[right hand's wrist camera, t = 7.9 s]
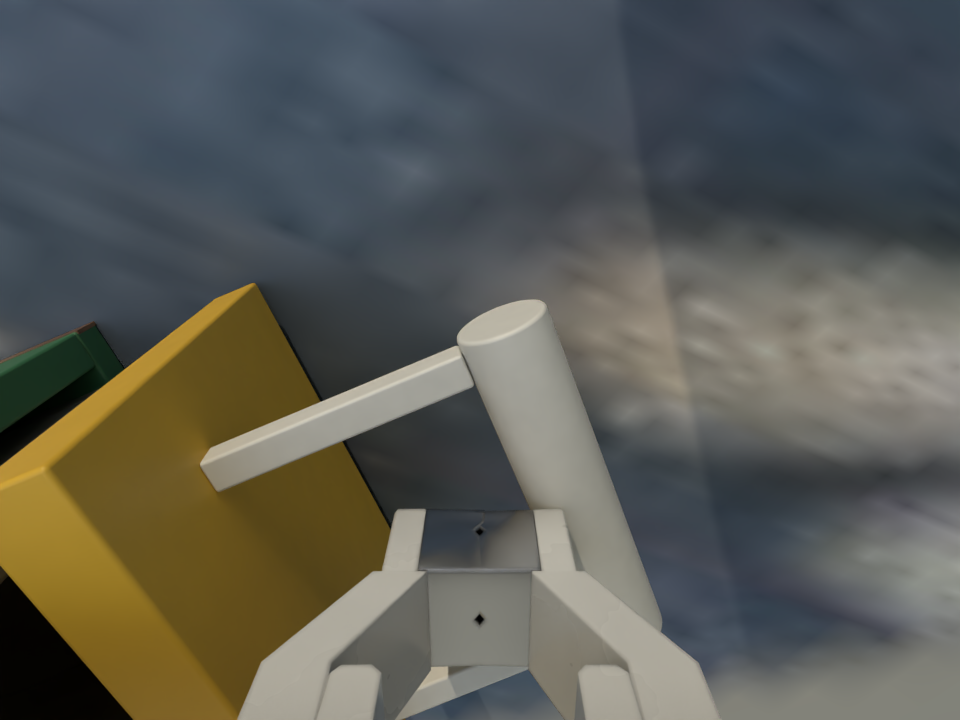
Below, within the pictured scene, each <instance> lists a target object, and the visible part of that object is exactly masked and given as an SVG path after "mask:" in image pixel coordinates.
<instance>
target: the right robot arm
mask: <svg viewBox="0 0 960 720" xmlns="http://www.w3.org/2000/svg"><path fill="white" fill-rule="evenodd" d="M447 666H512V667H528V670H529V671H530V673H531V674H532V675H533V677H534V678H535V680H536V681H537V682H538V684H539V685H540V686H541V688H542V689H543V691H544V692H545V693H546V695H547V696H548V698H549V699H550V700H551V702H552V703H553V704H554V706H555V707H556V709H557V710H558V711H559V713H560V714H561V716H562V717H563V718H564V720H722V719H721V717H720V714H719V712H718V709H717V707H716V704H715V702H714V700H713V697H712V695H711V692H710V690H709V687H708V685H707V682H706V680H705V678H704V675H703V673H702V670H701V668H700V665H699V663H698V662H697V661H696V660H694V659H693V658H692V657H691V656H689V655H688V654H687V653H686V652H685V651H683V650H682V649H681V648H680V647H678V646H677V645H676V644H675V643H674V642H672V641H671V640H670V639H669V638H667V637H666V636H665V635H664V634H662V633H661V632H660V631H659V630H658V629H656V628H655V627H654V626H653V625H651V624H650V623H649V622H648V621H647V620H645V619H644V618H643V617H642V616H640V615H639V614H638V613H637V612H636V611H634V610H633V609H632V608H631V607H629V606H628V605H627V604H626V603H625V602H623V601H622V600H621V599H620V598H618V597H617V596H616V595H615V594H614V593H612V592H611V591H610V590H609V589H607V588H606V587H605V586H604V585H603V584H601V583H600V582H599V581H598V580H596V579H595V578H594V577H593V576H591V575H590V574H589V573H588V572H586V571H577V567H576V562H575V558H574V553H573V549H572V545H571V540H570V536H569V531H568V527H567V523H566V518H565V514H564V511H563V510H562V509H561V508H558V509H533V510H499V511H485V510H455V509H427V510H426V509H398V510H397V511H396V512H395V514H394V519H393V523H392V528H391V532H390V536H389V541H388V545H387V550H386V554H385V559H384V563H383V567H382V571H373V572H371V573H370V574H369V575H368V576H366V577H365V578H364V579H363V580H362V581H360V582H359V583H358V584H357V585H355V586H354V587H353V588H352V589H350V590H349V591H348V592H347V593H345V594H344V595H343V596H342V597H341V598H339V599H338V600H337V601H336V602H334V603H333V604H332V605H331V606H329V607H328V608H327V609H326V610H325V611H323V612H322V613H321V614H320V615H318V616H317V617H316V618H315V619H313V620H312V621H311V622H310V623H309V624H307V625H306V626H305V627H304V628H302V629H301V630H300V631H299V632H297V633H296V634H295V635H294V636H292V637H291V638H290V639H289V640H288V641H286V642H285V643H284V644H283V645H281V646H280V647H279V648H278V649H276V650H275V651H274V652H273V653H272V654H270V655H269V656H268V657H267V658H265V659H264V660H263V661H262V662H261V664H260V666H259V668H258V671H257V673H256V676H255V678H254V680H253V683H252V685H251V688H250V690H249V692H248V695H247V697H246V699H245V702H244V704H243V707H242V709H241V711H240V714H239V716H238V719H237V720H395V719H396V718H397V716H398V715H399V713H400V712H401V711H402V709H403V708H404V707H405V705H406V704H407V702H408V701H409V700H410V698H411V697H412V696H413V694H414V693H415V691H416V690H417V689H418V687H419V686H420V685H421V683H422V682H423V680H424V679H425V678H426V676H427V675H428V674H429V672H430V671H431V667H447Z"/></svg>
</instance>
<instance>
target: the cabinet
mask: <svg viewBox="0 0 960 720" xmlns="http://www.w3.org/2000/svg"><path fill="white" fill-rule="evenodd" d="M95 325H96V324H95V322H94V321H93V322H91V323H88V324H86V325H83V326H81V327H79V328H76V329H74V330H72V331H69V332H67V333H65V334H62V335H60V336H58V337H55V338H53V339H51V340H48V341H46V342H43V343H41V344H39V345H36V346H34V347H32V348H29V349H27V350H25V351H22V352H20V353H18V354H15V355H13V356H11V357H8V358H6V359H3V360H1V361H0V433H1V432H2V431H3V430H5V429H6V428H8V427H9V426H12V425H14V424H16V423H19V422H21V421H24V420H26V419H28V418H31V417H33V416H35V415H38V414H40V413H43V412H45V411H47V410H50V409H52V408H54V407H57V406H59V405H61V404H64V403H66V402H69V401H71V400H73V399H76V398H78V397H80V396H83V395H85V394H88V393H90V392H92V391H95V390H97V389H99V388H102V387H103V386H104V385H105V384H107V383H108V382H109V381H110V380H112V379H113V378H114V377H116V376H117V375H118V374H119V373H121V372H122V371H123V370H124V368H123V367H122V365H121V364H120V362H119V361H118V359H117V358H116V356H115V355H114V353H113V352H112V350H111V349H110V347H109V346H108V344H107V343H106V341H105V340H104V338H103V337H102V335H101V334H100V332H99V331H98V329H97V328H96V326H95Z"/></svg>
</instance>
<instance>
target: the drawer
mask: <svg viewBox="0 0 960 720" xmlns="http://www.w3.org/2000/svg"><path fill="white" fill-rule="evenodd" d="M457 343H458V345H459V346H454V347H452V348H449V349H447V350H444V351H442V352H440V353H437V354H435V355H432V356H430V357H428V358H425V359H423V360H420V361H418V362H415V363H413V364H411V365H408V366H406V367H403V368H401V369H399V370H396V371H394V372H391V373H389V374H387V375H384V376H382V377H379V378H377V379H375V380H372V381H370V382H367V383H365V384H363V385H360V386H358V387H355V388H353V389H351V390H348V391H346V392H343V393H341V394H339V395H336V396H334V397H331V398H329V399H327V400H324V401H322V402H320V400H319V398H318V396H317V394H316V393H315V391H314V389H313V387H312V385H311V384H310V382H309V380H308V378H307V376H306V374H305V373H304V371H303V369H302V367H301V365H300V363H299V362H298V360H297V358H296V356H295V354H294V353H293V351H292V349H291V347H290V345H289V343H288V342H287V340H286V338H285V336H284V334H283V332H282V331H281V329H280V327H279V325H278V323H277V321H276V320H275V318H274V316H273V314H272V312H271V311H270V309H269V307H268V305H267V303H266V301H265V300H264V298H263V296H262V294H261V292H260V290H259V289H258V287H257V285H256V284H255V283H251V284H249V285H247V286H244V287H242V288H240V289H237V290H235V291H232V292H230V293H228V294H225V295H223V296H221V297H218V298H216V299H214V300H213V301H212V302H211V303H209V304H208V305H207V306H205V307H204V308H203V309H202V310H200V311H199V312H198V313H196V314H195V315H194V316H193V317H191V318H190V319H189V320H187V321H186V322H185V323H184V324H182V325H181V326H180V327H178V328H177V329H176V330H175V331H173V332H172V333H171V334H170V335H168V336H167V337H166V338H164V339H163V340H162V341H161V342H159V343H158V344H157V345H155V346H154V347H153V348H152V349H150V350H149V351H148V352H146V353H145V354H144V355H143V356H141V357H140V358H139V359H137V360H136V361H135V362H134V363H132V364H131V365H130V366H128V367H127V368H126V369H125V370H123V371H122V372H121V373H119V374H118V375H117V376H116V377H114V378H113V379H112V380H110V381H109V382H108V383H107V384H105V385H104V386H103V387H102V388H99V389H97V390H95V391H92V392H90V393H88V394H85V395H83V396H80V397H78V398H76V399H73V400H71V401H69V402H66V403H64V404H61V405H59V406H57V407H54V408H52V409H50V410H47V411H45V412H43V413H40V414H38V415H35V416H33V417H31V418H28V419H26V420H24V421H21V422H19V423H16V424H14V425H12V426H9V427H8V428H6V429H5V430H3V431H2V432H1V433H0V720H237V719H238V716H239V714H240V711H241V709H242V707H243V704H244V702H245V699H246V697H247V695H248V692H249V690H250V688H251V685H252V683H253V680H254V678H255V676H256V673H257V671H258V668H259V666H260V664H261V662H262V661H263V660H264V659H265V658H267V657H268V656H269V655H270V654H272V653H273V652H274V651H275V650H276V649H278V648H279V647H280V646H281V645H283V644H284V643H285V642H286V641H288V640H289V639H290V638H291V637H292V636H294V635H295V634H296V633H297V632H299V631H300V630H301V629H302V628H304V627H305V626H306V625H307V624H309V623H310V622H311V621H312V620H313V619H315V618H316V617H317V616H318V615H320V614H321V613H322V612H323V611H325V610H326V609H327V608H328V607H329V606H331V605H332V604H333V603H334V602H336V601H337V600H338V599H339V598H341V597H342V596H343V595H344V594H345V593H347V592H348V591H349V590H350V589H352V588H353V587H354V586H355V585H357V584H358V583H359V582H360V581H362V580H363V579H364V578H365V577H366V576H368V575H369V574H370V573H371V572H373V571H382V567H383V563H384V559H385V554H386V550H387V545H388V541H389V536H390V532H391V530H390V528H389V526H388V524H387V522H386V520H385V519H384V517H383V515H382V513H381V511H380V509H379V508H378V506H377V504H376V502H375V500H374V499H373V497H372V495H371V493H370V491H369V489H368V488H367V486H366V484H365V482H364V480H363V478H362V477H361V475H360V473H359V471H358V469H357V467H356V466H355V464H354V462H353V460H352V458H351V457H350V455H349V453H348V451H347V449H346V447H345V446H344V444H343V442H342V441H344V440H346V439H349V438H351V437H354V436H356V435H358V434H361V433H363V432H366V431H368V430H370V429H373V428H375V427H378V426H380V425H383V424H385V423H387V422H390V421H392V420H395V419H397V418H399V417H402V416H404V415H407V414H409V413H412V412H414V411H416V410H419V409H421V408H424V407H426V406H428V405H431V404H433V403H436V402H438V401H441V400H443V399H445V398H448V397H450V396H453V395H455V394H457V393H460V392H462V391H465V390H467V389H469V388H472V387H473V386H474V382H475V384H476V387H477V389H478V391H479V393H480V396H481V398H482V400H483V403H484V405H485V407H486V409H487V412H488V414H489V416H490V419H491V421H492V423H493V426H494V428H495V430H496V432H497V435H498V437H499V439H500V442H501V444H502V446H503V448H504V451H505V453H506V455H507V458H508V460H509V462H510V464H511V467H512V469H513V471H514V474H515V476H516V478H517V480H518V483H519V485H520V487H521V490H522V492H523V494H524V496H525V499H526V501H527V503H528V506H529V508H530V510H533V509H558V508H561V509H562V510H563V511H564V514H565V518H566V523H567V527H568V531H569V536H570V540H571V545H572V549H573V553H574V558H575V562H576V567H577V571H586V572H588V573H589V574H590V575H591V576H593V577H594V578H595V579H596V580H598V581H599V582H600V583H601V584H603V585H604V586H605V587H606V588H607V589H609V590H610V591H611V592H612V593H614V594H615V595H616V596H617V597H618V598H620V599H621V600H622V601H623V602H625V603H626V604H627V605H628V606H629V607H631V608H632V609H633V610H634V611H636V612H637V613H638V614H639V615H640V616H642V617H643V618H644V619H645V620H647V621H648V622H649V623H650V624H651V625H653V626H654V627H655V628H656V629H658V630H659V631H660V632H661V628H662V617H661V613H660V611H659V608H658V605H657V603H656V600H655V597H654V594H653V592H652V589H651V586H650V584H649V581H648V578H647V575H646V573H645V570H644V567H643V565H642V562H641V559H640V556H639V554H638V551H637V548H636V546H635V543H634V540H633V537H632V535H631V532H630V529H629V527H628V524H627V521H626V519H625V516H624V513H623V510H622V508H621V505H620V502H619V500H618V497H617V494H616V491H615V489H614V486H613V483H612V481H611V478H610V475H609V472H608V470H607V467H606V464H605V462H604V459H603V456H602V454H601V451H600V448H599V445H598V443H597V440H596V437H595V435H594V432H593V429H592V426H591V424H590V421H589V418H588V416H587V413H586V410H585V407H584V405H583V402H582V399H581V397H580V394H579V391H578V388H577V386H576V383H575V380H574V378H573V375H572V372H571V370H570V367H569V364H568V361H567V359H566V356H565V353H564V351H563V348H562V345H561V342H560V340H559V337H558V334H557V332H556V329H555V326H554V323H553V321H552V318H551V315H550V313H549V310H548V307H547V305H546V304H545V303H544V302H543V301H541V300H535V299H531V300H521V301H516V302H512V303H508V304H505V305H502V306H499V307H497V308H494V309H492V310H490V311H488V312H486V313H484V314H482V315H480V316H478V317H476V318H475V319H473V320H472V321H471V322H469V323H468V324H467V325H465V326H464V327H463V328H462V329H461V330H460V332H459V333H458V335H457ZM473 380H474V381H473ZM527 669H528V667H512V666H447V667H431V671H430V672H429V674H428V675H427V676H426V678H425V679H424V680H423V682H422V683H421V685H420V686H419V687H418V689H417V690H416V691H415V693H414V694H413V696H412V697H411V698H410V700H409V701H408V702H407V704H406V705H405V707H404V708H403V709H402V711H401V712H400V713H399V715H398V716H397V718H396V719H395V720H405V718H407V717H410V716H412V715H415V714H417V713H420V712H422V711H425V710H427V709H430V708H432V707H435V706H437V705H440V704H442V703H445V702H447V701H450V700H452V699H455V698H457V697H460V696H462V695H465V694H467V693H470V692H472V691H475V690H477V689H480V688H482V687H485V686H487V685H490V684H492V683H495V682H497V681H500V680H502V679H505V678H507V677H510V676H512V675H515V674H517V673H520V672H522V671H525V670H527Z"/></svg>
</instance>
